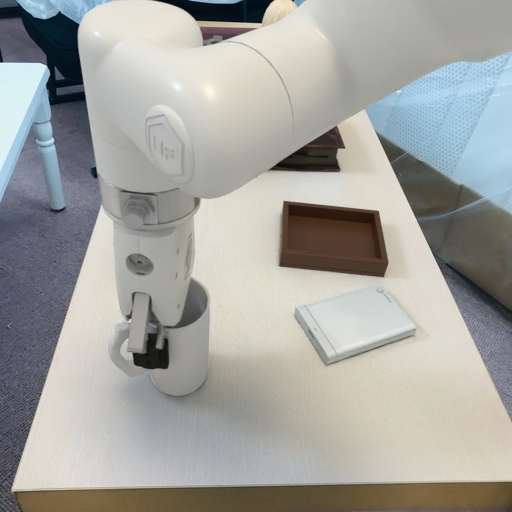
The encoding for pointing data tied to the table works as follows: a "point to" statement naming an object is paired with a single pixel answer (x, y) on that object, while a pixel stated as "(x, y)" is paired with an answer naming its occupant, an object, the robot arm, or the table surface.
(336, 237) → the shallow brown tray
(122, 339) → the mug
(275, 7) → the figurine
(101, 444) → the table surface
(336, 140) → the diary
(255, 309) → the table surface
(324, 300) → the hard drive
